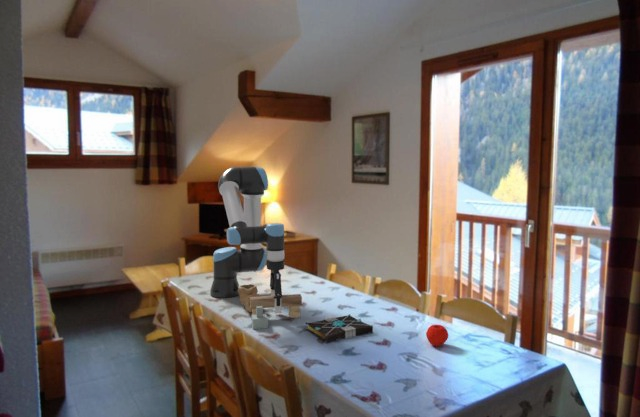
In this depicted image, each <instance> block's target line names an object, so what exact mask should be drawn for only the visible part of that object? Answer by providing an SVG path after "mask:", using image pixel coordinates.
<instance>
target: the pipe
mask: <svg viewBox="0 0 640 417" xmlns="http://www.w3.org/2000/svg"><path fill="white" fill-rule="evenodd" d="M258 291H259V290H258V288H257V284H252V283H250V284H242V285H239V286H238V293H239V295H238V296H239V298H240V303H241V304H242V305H243V307H244V308H245V311H247V312H250V313H251V314H252V309H250V297H260V296H261V294H260V293H259V294H258Z"/></svg>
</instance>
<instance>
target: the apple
mask: <svg viewBox="0 0 640 417" xmlns="http://www.w3.org/2000/svg"><path fill="white" fill-rule="evenodd" d="M425 336H426V339H427V341H428V342H429V344H431V345H432V346H434V347H440V346H442V345H444V343H445V342H447V341H448V339H449V332H448V330H447V328H446V327H445V326H443V325H442V324H432V325H430V326H429V327H428V328H427V330H426V332H425Z"/></svg>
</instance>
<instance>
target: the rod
mask: <svg viewBox="0 0 640 417" xmlns="http://www.w3.org/2000/svg"><path fill="white" fill-rule="evenodd" d="M302 297H303V296H302V294H301V293H295V294H282V298H281V308H284V307H288V308H289V306H302V305H303V299H302ZM256 306H262V307H263V309H267V308H268V309H269V308H273V309H274V308H275V299H274V296H271V295H262V296H261V295H260V297H250V309H256Z"/></svg>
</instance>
